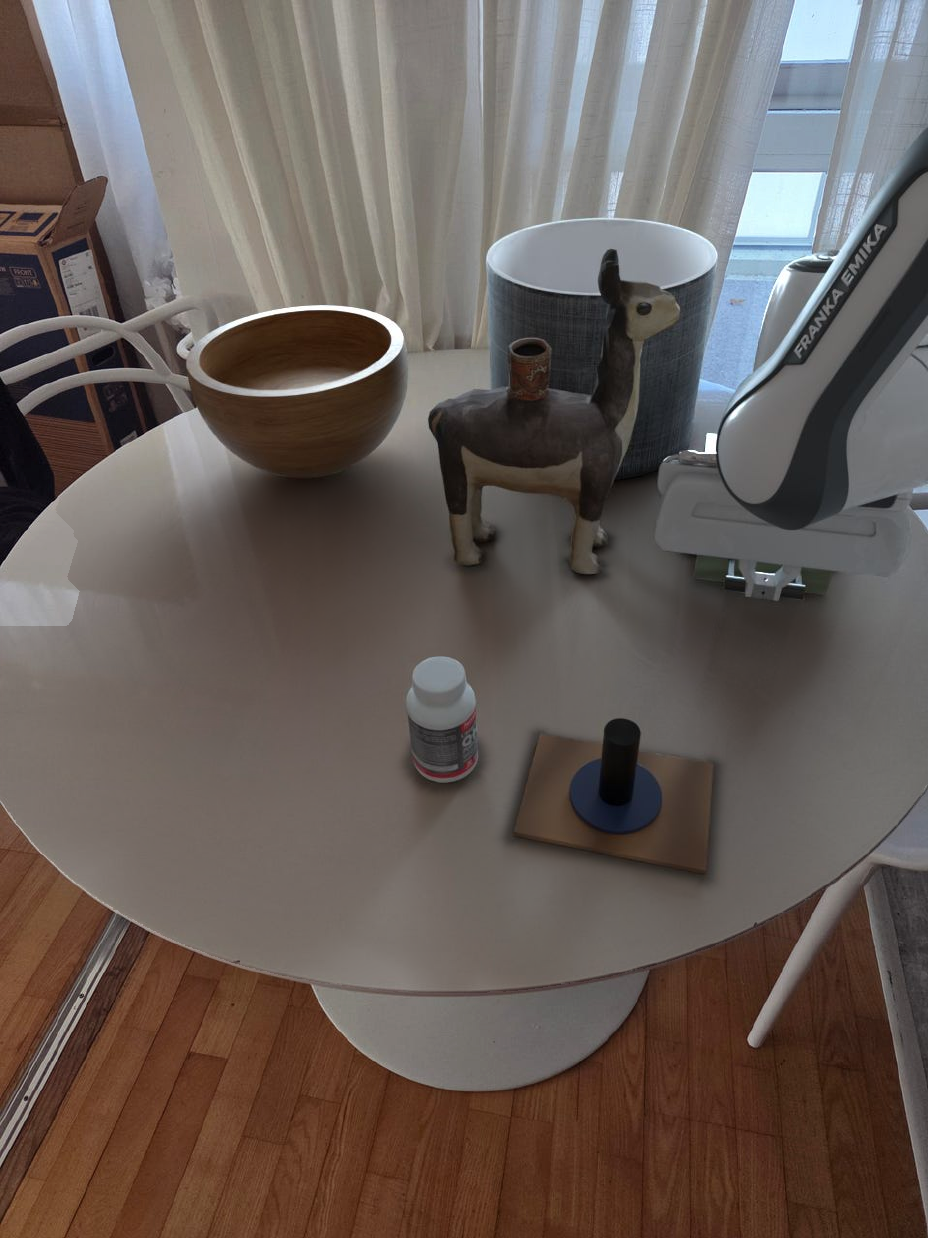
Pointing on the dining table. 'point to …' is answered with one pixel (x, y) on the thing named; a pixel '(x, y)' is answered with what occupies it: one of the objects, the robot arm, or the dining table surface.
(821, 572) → the drawer
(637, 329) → the figurine
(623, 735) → the lid
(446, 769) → the pill bottle
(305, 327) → the bowl
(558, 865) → the dining table surface
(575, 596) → the dining table surface
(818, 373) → the robot arm
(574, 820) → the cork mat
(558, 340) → the planter
